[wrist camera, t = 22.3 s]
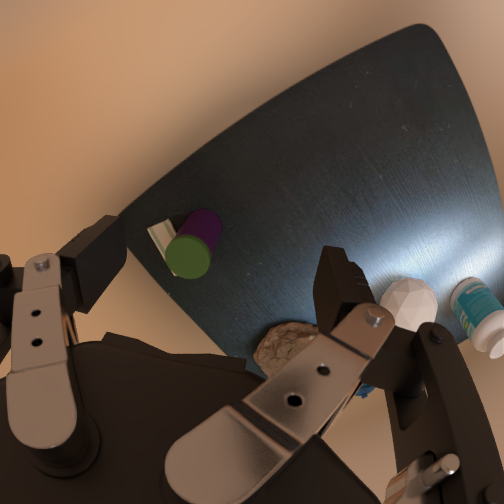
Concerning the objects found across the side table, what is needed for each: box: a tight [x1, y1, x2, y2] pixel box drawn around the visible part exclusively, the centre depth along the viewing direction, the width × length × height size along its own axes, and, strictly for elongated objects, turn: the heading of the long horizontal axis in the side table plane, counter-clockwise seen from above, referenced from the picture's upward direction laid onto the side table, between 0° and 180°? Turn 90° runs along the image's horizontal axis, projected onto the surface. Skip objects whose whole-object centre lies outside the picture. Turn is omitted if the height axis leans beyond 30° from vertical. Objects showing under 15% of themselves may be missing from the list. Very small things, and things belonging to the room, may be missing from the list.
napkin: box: [147, 219, 177, 276], centre depth 42 cm, size 8×4×1 cm, turn 23°
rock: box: [253, 322, 318, 378], centre depth 46 cm, size 13×11×5 cm
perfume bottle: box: [380, 277, 438, 332], centre depth 40 cm, size 9×9×12 cm
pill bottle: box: [450, 278, 504, 359], centre depth 36 cm, size 8×7×14 cm
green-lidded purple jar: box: [165, 209, 222, 279], centre depth 36 cm, size 5×5×9 cm
